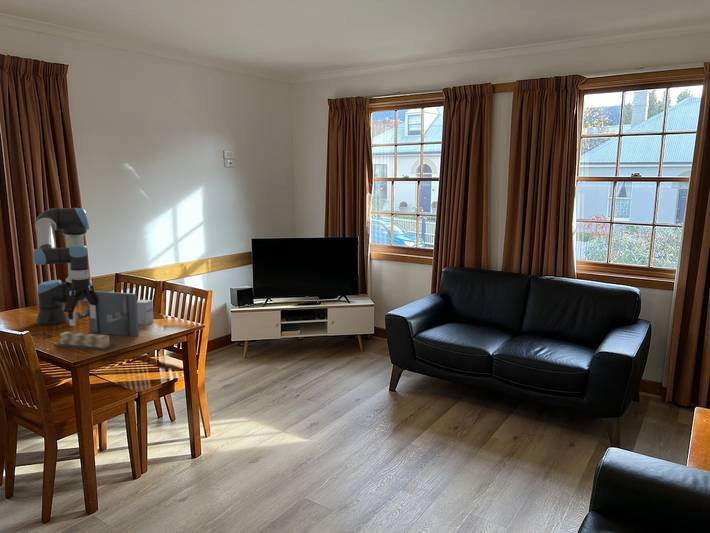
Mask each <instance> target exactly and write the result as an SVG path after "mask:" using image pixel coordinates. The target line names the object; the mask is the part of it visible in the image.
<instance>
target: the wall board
mask: <svg viewBox="0 0 710 533" xmlns="http://www.w3.org/2000/svg"><path fill="white" fill-rule="evenodd" d="M94 291H95V293H96V294H97V297H98V300H99V302H98V314H99V329H100V333H99V334H103V335H118V336H125V331H124V317H123V318H121V319H118V320H115V321H113V322H107V315H112V318H113V317H115V312H120V315H121V314H124V313H123V296H128V307H129V324H130V336H129V337H138V336H140V334H139V330H140V329H139V324H138V311H137V301H138V295H137V293H133V292H132V293H129V292H114V291H101V290H100V291H99V290H94ZM90 305H92V304H90V302H89V301H87V308H88V309H87V310H89V312H90ZM88 323H89V324H88V325H89V333H92V334H94V320H93V318H90V316H88Z"/></svg>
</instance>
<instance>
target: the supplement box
mask: <svg viewBox="0 0 710 533" xmlns="http://www.w3.org/2000/svg"><path fill="white" fill-rule="evenodd" d="M137 311H138V325H142V326H146V325H149V324H151V323H153V322H154V320H155V318H154V302H153V300H152V299H140V300H137Z"/></svg>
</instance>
